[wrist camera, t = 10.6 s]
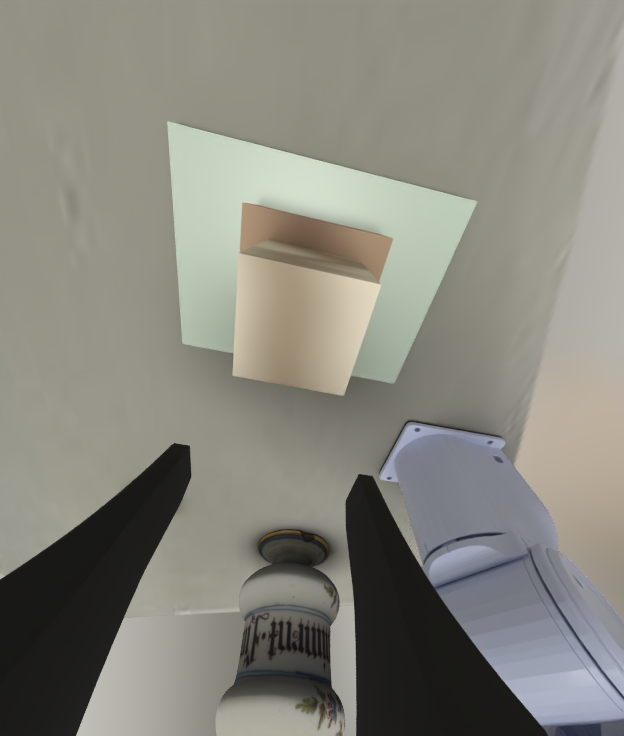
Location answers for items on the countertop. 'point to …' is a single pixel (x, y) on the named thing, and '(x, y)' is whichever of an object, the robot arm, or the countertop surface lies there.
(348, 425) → the countertop surface
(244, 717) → the apothecary jar
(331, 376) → the maple brick
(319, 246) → the base block
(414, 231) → the baseplate
